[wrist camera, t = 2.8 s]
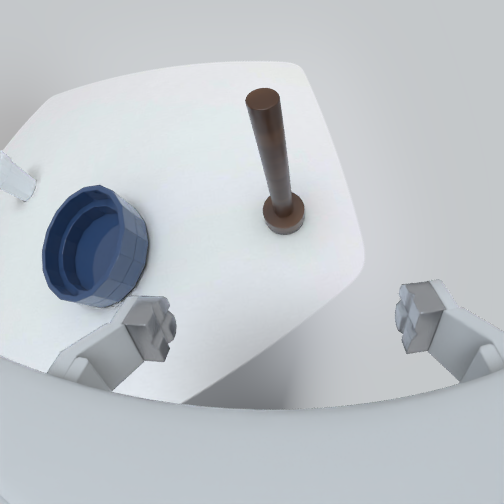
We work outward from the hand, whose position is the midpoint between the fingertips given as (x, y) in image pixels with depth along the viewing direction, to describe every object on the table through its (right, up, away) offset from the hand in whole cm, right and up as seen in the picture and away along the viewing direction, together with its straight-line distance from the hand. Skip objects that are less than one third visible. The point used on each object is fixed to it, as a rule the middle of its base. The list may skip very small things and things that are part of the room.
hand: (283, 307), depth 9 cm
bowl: (-21, +2, +25) cm, 33 cm away
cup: (-46, +14, +34) cm, 59 cm away
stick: (+3, +6, +22) cm, 23 cm away
